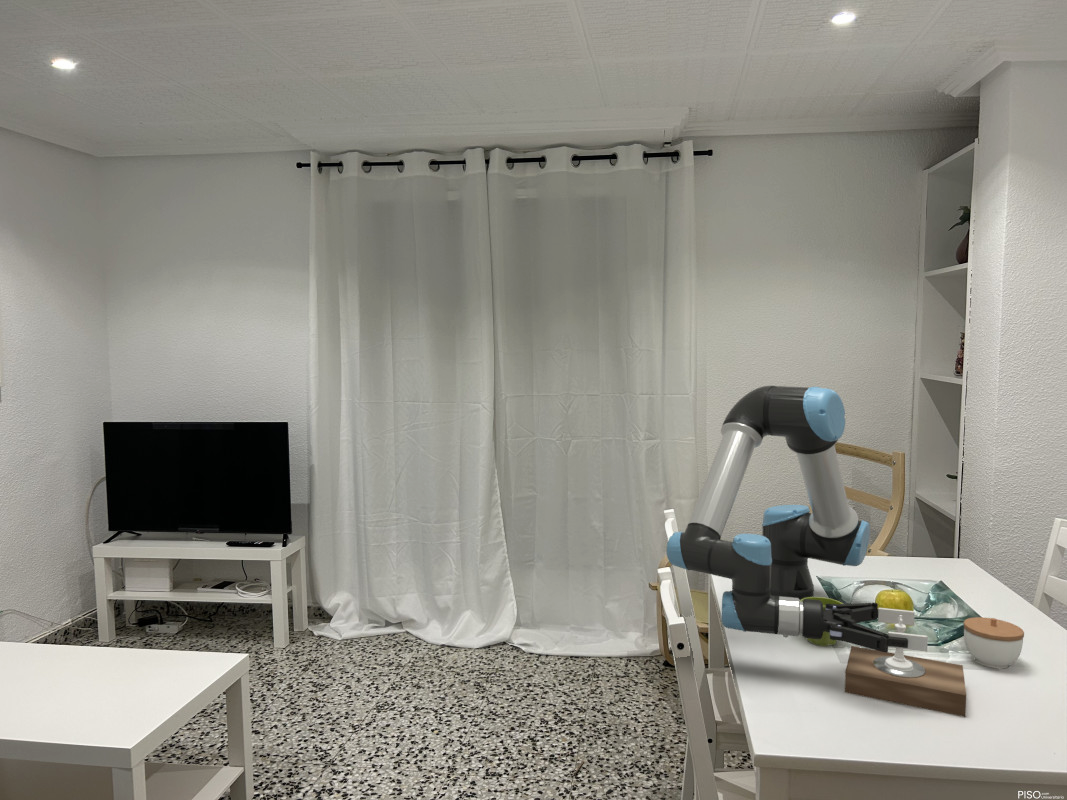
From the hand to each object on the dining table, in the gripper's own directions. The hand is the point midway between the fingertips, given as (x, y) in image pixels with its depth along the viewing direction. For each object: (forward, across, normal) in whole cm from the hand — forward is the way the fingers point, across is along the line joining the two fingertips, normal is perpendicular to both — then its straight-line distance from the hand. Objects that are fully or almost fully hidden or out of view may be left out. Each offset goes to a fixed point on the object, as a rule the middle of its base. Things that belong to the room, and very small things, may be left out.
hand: (920, 630), depth 142 cm
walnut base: (-2, 0, -12) cm, 12 cm away
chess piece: (-3, 0, -8) cm, 8 cm away
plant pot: (-16, -20, -12) cm, 28 cm away
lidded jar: (+17, -19, -12) cm, 28 cm away
